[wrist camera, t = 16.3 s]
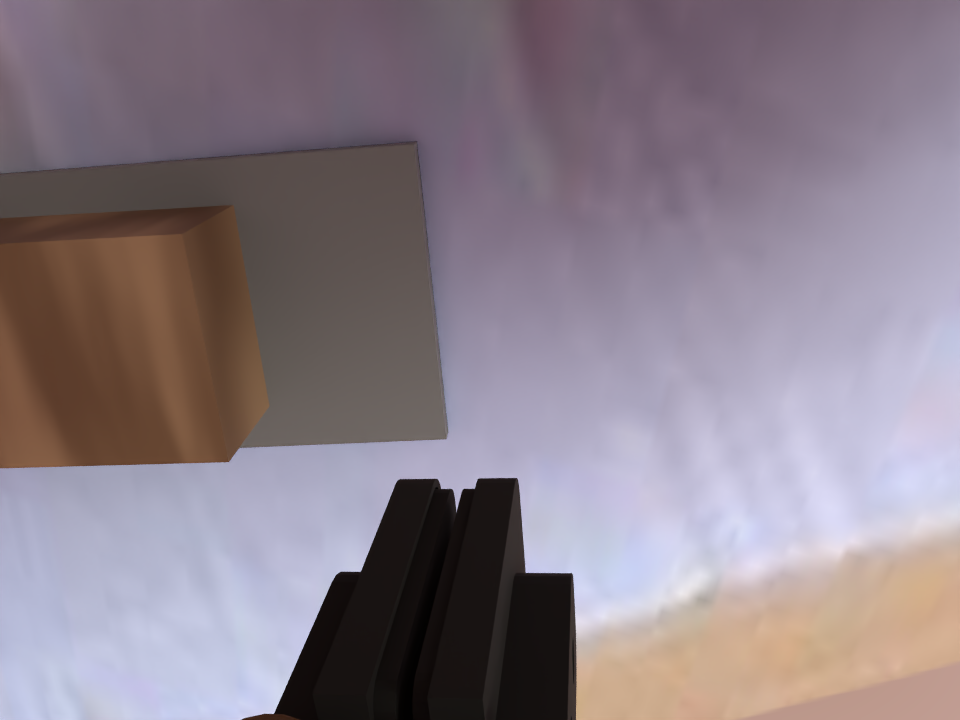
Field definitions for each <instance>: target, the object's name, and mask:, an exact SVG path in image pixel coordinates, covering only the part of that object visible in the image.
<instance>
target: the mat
mask: <svg viewBox="0 0 960 720" xmlns="http://www.w3.org/2000/svg"><path fill="white" fill-rule="evenodd" d="M225 205H234V210H235V216H236V221H237V227H238V233H239V238H240V244H241V249H242V255H243V261H244V266H245V272H246V277H247V283H248V289H249V294H250V300H251V305H252V311H253V316H254V322H255V328H256V333H257V339H258V344H259V350H260V356H261V361H262V367H263V372H264V378H265V384H266V389H267V395H268V400H269V408H268V409H267V410H266V412H265V413H264V414H263V416H262V417H261V418H260V420H259V421H258V423H257V424H256V425H255V427H254V428H253V429H252V431H251V432H250V434H249V435H248V436H247V438H246V439H245V440H244V442H243V443H242V445H241V446H240V447H239V448H246V447H270V446H294V445H318V444H342V443H366V442H390V441H414V440H438V439H446V438H447V434H448V426H447V417H446V407H445V398H444V389H443V380H442V370H441V361H440V352H439V343H438V334H437V324H436V315H435V306H434V297H433V287H432V278H431V269H430V260H429V251H428V241H427V232H426V223H425V214H424V205H423V195H422V186H421V177H420V168H419V158H418V149H417V142H406V143H393V144H380V145H367V146H354V147H341V148H328V149H315V150H302V151H290V152H277V153H264V154H251V155H238V156H225V157H212V158H199V159H186V160H173V161H161V162H148V163H135V164H122V165H109V166H96V167H83V168H70V169H57V170H45V171H32V172H19V173H6V174H0V218H14V217H31V216H49V215H67V214H84V213H102V212H119V211H137V210H154V209H172V208H189V207H207V206H225Z"/></svg>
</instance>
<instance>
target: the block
mask: <svg viewBox="0 0 960 720" xmlns="http://www.w3.org/2000/svg"><path fill="white" fill-rule="evenodd" d="M268 408H269V400H268V395H267V389H266V384H265V378H264V372H263V367H262V361H261V356H260V350H259V344H258V339H257V333H256V328H255V322H254V316H253V311H252V305H251V300H250V294H249V289H248V283H247V277H246V272H245V266H244V261H243V255H242V249H241V244H240V238H239V233H238V227H237V221H236V216H235V210H234V205H225V206H207V207H189V208H172V209H154V210H137V211H119V212H102V213H84V214H67V215H49V216H31V217H14V218H0V468H25V467H62V466H99V465H136V464H173V463H210V462H229V461H230V460H231V458H232V457H233V455H234V454H235V453H236V451H237V450H238V449H239V447H240V446H241V445H242V443H243V442H244V440H245V439H246V438H247V436H248V435H249V434H250V432H251V431H252V429H253V428H254V427H255V425H256V424H257V423H258V421H259V420H260V418H261V417H262V416H263V414H264V413H265V412H266V410H267V409H268Z"/></svg>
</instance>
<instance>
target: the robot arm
mask: <svg viewBox="0 0 960 720" xmlns="http://www.w3.org/2000/svg"><path fill="white" fill-rule="evenodd" d="M242 720H576V626H575V603H574V584H573V575H572V573H526V572H525V559H524V545H523V532H522V519H521V506H520V492H519V484H518V479H517V478H486V479H478V480H477V483H476V487H475V489H463V491H462V494H461V498H460V502H459V505H458V509H457V513H456V505H455V497H454V492H453V490H452V489H441V486H440V483H439V481H438V479H400V480H398V481H397V483H396V485H395V487H394V490H393V492H392V495H391V497H390V500H389V503H388V505H387V508H386V510H385V513H384V515H383V518H382V520H381V523H380V525H379V528H378V530H377V533H376V535H375V538H374V540H373V543H372V545H371V548H370V550H369V553H368V555H367V558H366V560H365V563H364V566H363V568H362V571H361V572H340V573H338V574H337V575H336V576H335V578H334V580H333V581H332V583H331V586H330V588H329V590H328V593H327V595H326V597H325V599H324V602H323V604H322V606H321V608H320V611H319V613H318V615H317V618H316V620H315V622H314V624H313V627H312V629H311V631H310V633H309V636H308V638H307V640H306V643H305V645H304V647H303V649H302V652H301V654H300V656H299V659H298V661H297V663H296V665H295V668H294V670H293V672H292V674H291V677H290V679H289V681H288V684H287V686H286V688H285V690H284V693H283V695H282V697H281V699H280V702H279V704H278V706H277V709H276V711H275V713H274V714H262V715H257V716H253V717H248V718H244V719H242Z"/></svg>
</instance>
